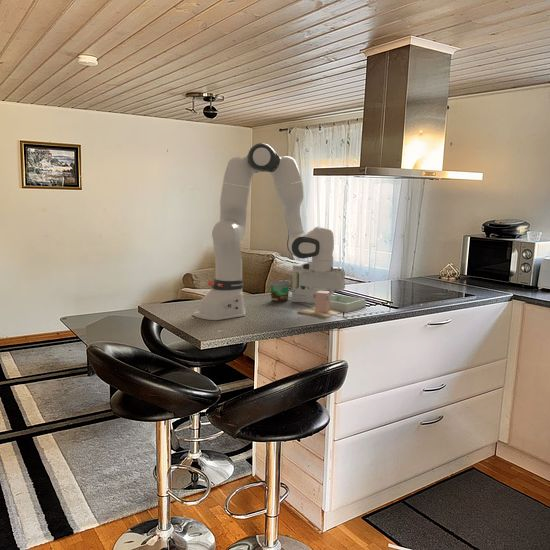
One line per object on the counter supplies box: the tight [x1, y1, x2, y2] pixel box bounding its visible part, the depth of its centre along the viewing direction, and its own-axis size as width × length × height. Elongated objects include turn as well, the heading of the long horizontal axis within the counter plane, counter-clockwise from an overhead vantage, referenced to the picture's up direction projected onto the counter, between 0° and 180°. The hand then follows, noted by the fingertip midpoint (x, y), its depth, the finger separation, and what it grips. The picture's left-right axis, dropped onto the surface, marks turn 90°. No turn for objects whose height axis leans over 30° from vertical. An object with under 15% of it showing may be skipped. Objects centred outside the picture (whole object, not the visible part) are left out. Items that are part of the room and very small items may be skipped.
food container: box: [269, 277, 292, 303], centre depth 237 cm, size 12×6×10 cm, turn 143°
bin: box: [330, 293, 367, 313], centre depth 225 cm, size 15×15×4 cm
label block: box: [314, 290, 330, 312], centre depth 215 cm, size 5×5×8 cm
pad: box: [297, 306, 345, 320], centre depth 214 cm, size 14×14×1 cm
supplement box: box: [291, 261, 328, 304], centre depth 238 cm, size 13×13×18 cm
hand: (321, 298), depth 213 cm, fingers open, 6 cm apart
